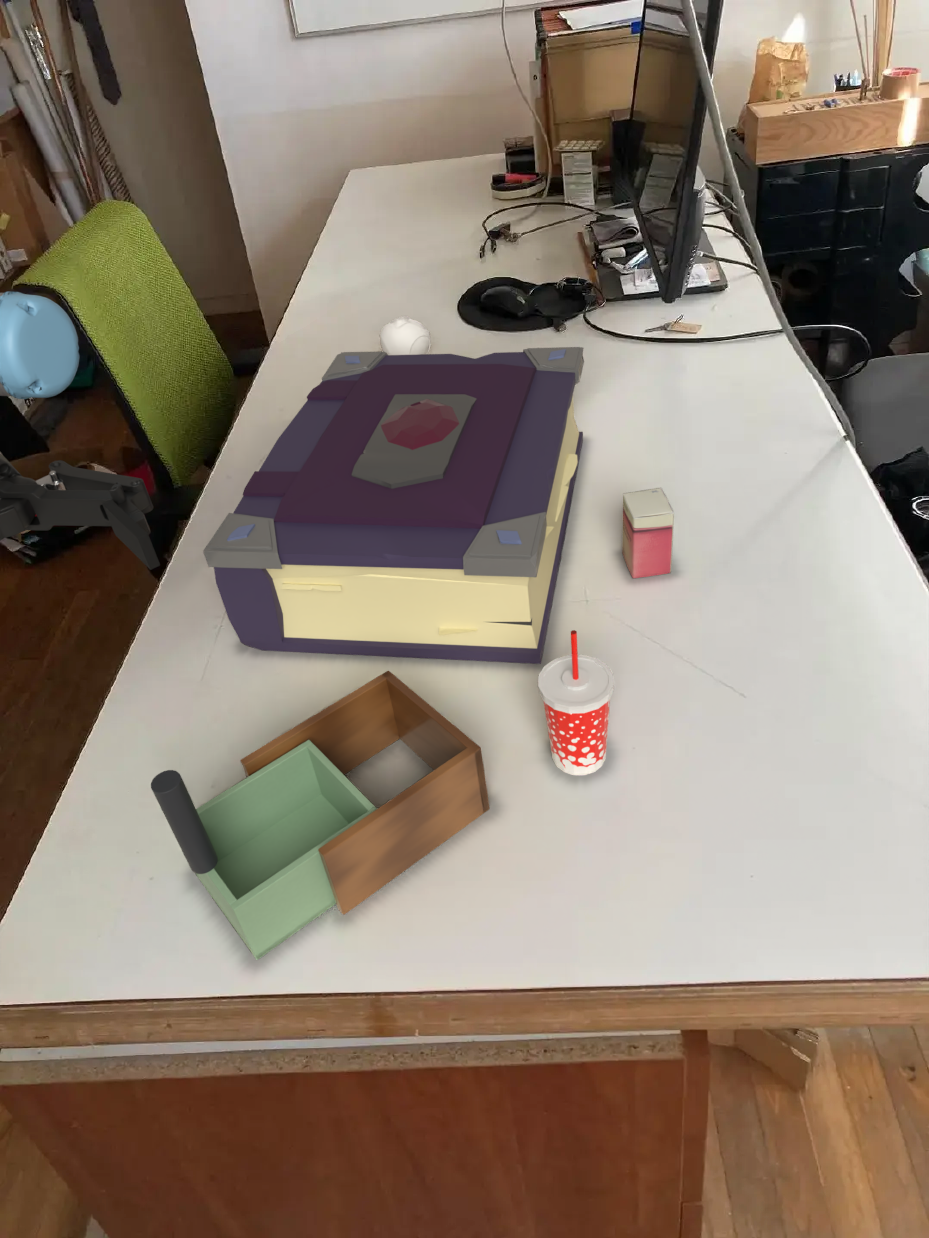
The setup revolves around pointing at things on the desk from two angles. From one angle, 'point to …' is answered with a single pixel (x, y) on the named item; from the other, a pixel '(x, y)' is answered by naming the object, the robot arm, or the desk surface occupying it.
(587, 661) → the beverage cup
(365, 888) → the wooden drawer casing
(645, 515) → the small box
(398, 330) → the white lumpy ball
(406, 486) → the book
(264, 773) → the green open box
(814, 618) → the desk surface
